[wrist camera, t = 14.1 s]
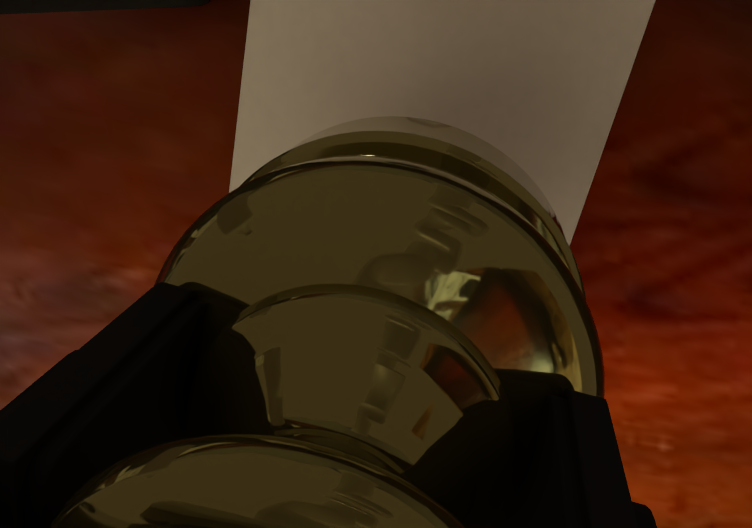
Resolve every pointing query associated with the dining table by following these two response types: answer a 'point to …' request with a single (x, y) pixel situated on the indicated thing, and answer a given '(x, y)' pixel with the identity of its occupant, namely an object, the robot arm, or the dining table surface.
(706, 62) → the dining table surface
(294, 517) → the brass cabinet knob
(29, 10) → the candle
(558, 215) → the white base plate
